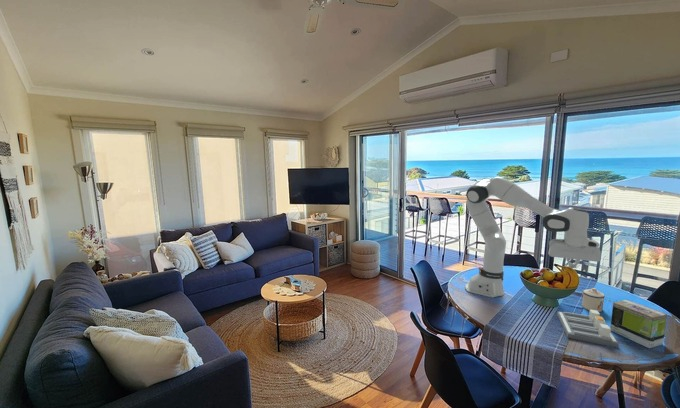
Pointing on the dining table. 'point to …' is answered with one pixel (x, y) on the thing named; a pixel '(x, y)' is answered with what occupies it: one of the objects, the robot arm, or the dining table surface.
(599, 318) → the breaker
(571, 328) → the panel
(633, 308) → the tea box
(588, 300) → the teacup with lid
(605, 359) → the dining table surface
